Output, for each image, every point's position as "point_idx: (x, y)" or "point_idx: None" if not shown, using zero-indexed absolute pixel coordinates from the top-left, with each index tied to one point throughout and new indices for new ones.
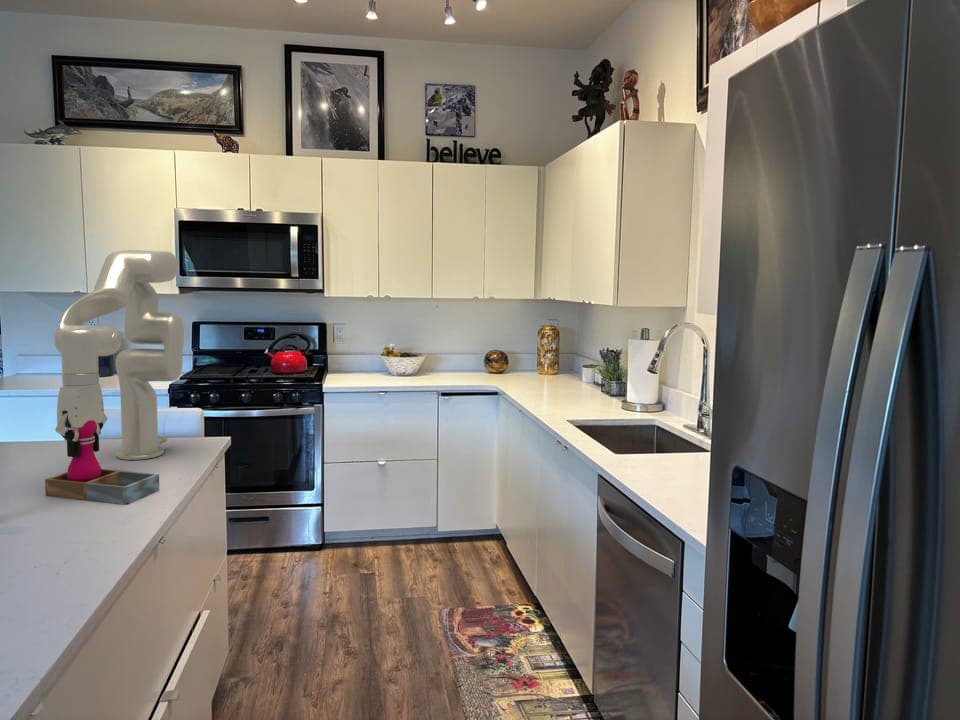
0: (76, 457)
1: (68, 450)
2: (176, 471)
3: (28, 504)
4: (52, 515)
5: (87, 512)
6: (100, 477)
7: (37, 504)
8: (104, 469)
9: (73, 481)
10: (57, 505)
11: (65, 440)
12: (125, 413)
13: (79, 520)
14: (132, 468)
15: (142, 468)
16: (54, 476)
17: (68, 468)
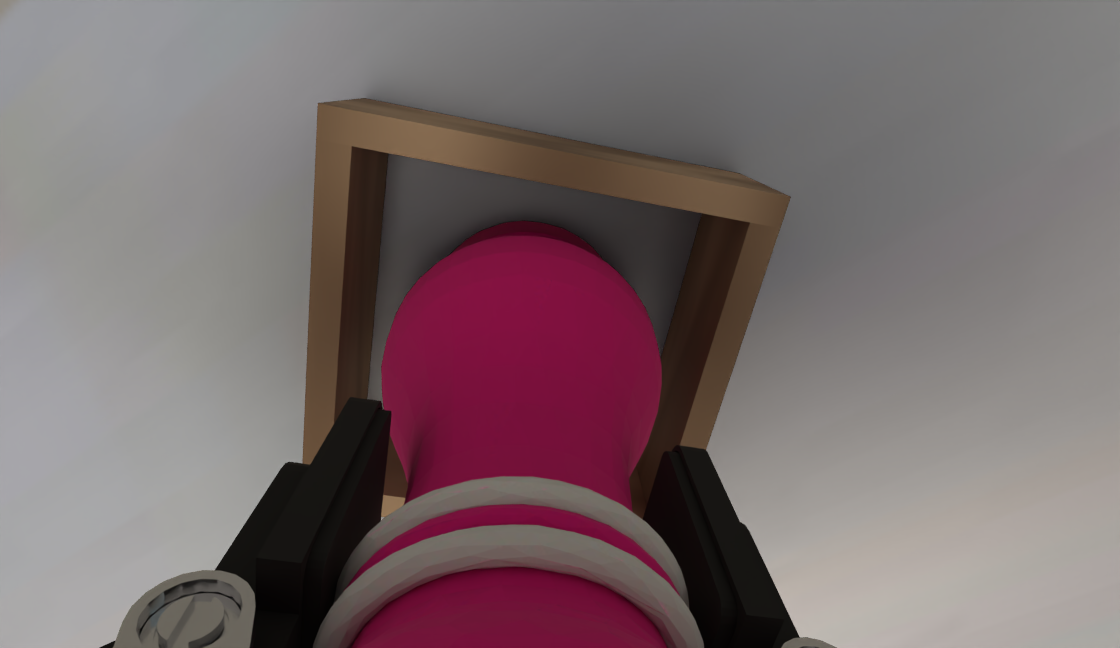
0: (409, 458)
1: (272, 494)
2: (974, 599)
3: (146, 105)
4: (29, 408)
5: (151, 546)
6: None
7: (170, 174)
8: (705, 423)
9: (328, 390)
10: (198, 322)
11: (180, 583)
12: None
13: (28, 576)
14: (1113, 320)
15: (1096, 386)
16: (432, 131)
17: (419, 311)
